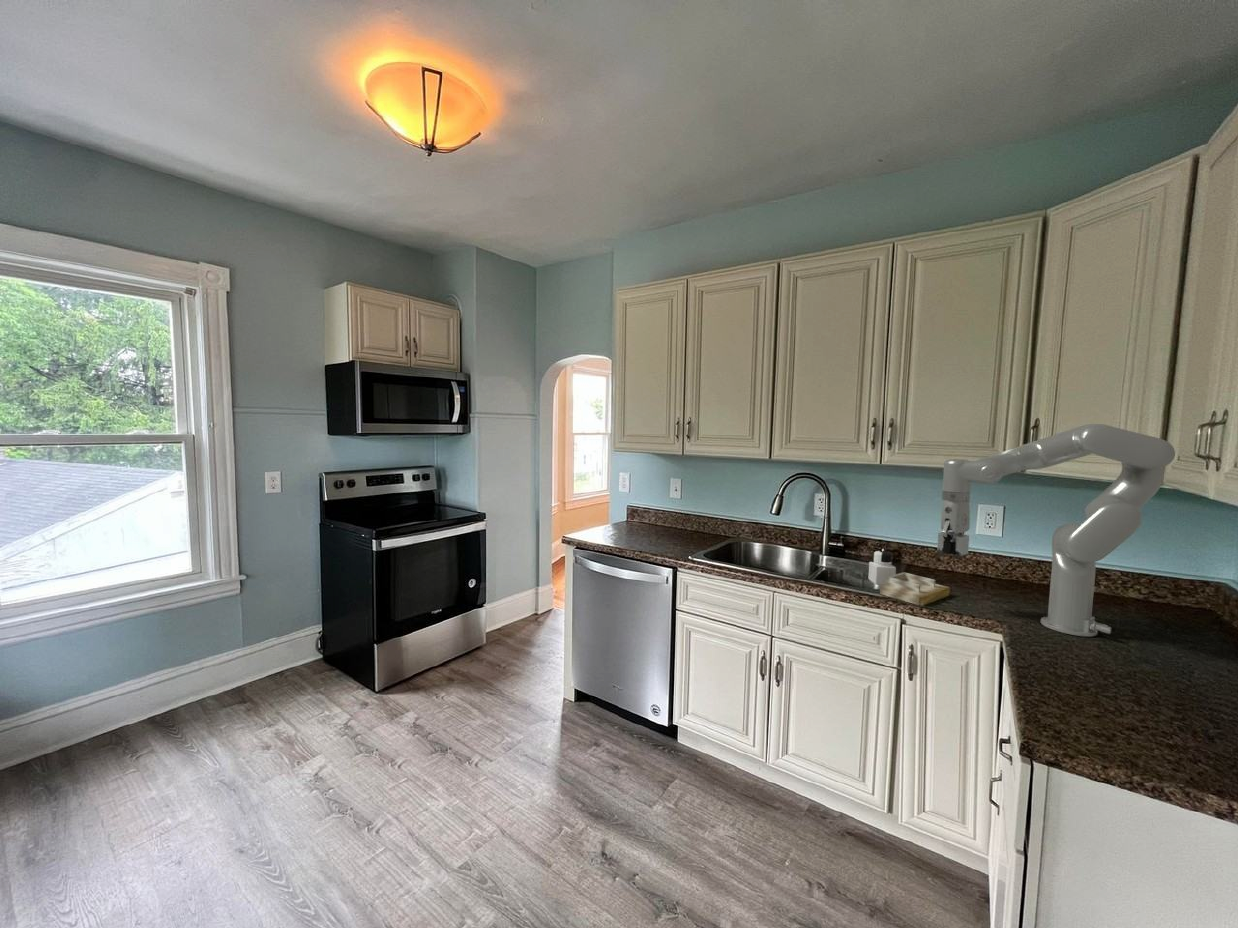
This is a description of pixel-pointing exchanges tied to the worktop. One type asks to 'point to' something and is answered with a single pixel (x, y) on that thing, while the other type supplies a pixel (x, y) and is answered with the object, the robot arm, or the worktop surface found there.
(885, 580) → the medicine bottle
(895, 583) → the loading dock
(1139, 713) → the worktop surface
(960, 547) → the grey block
